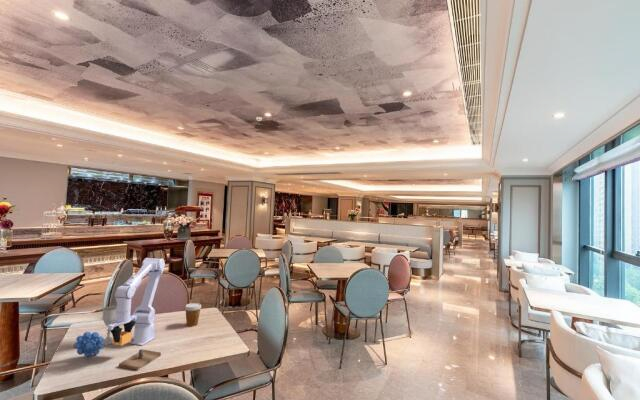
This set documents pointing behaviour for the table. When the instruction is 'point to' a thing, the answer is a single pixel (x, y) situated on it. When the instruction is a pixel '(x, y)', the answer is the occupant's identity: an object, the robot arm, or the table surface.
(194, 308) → the disposable coffee cup
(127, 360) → the keeper base
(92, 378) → the table surface
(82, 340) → the grapes
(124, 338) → the orange hollow frame block
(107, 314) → the chalice
